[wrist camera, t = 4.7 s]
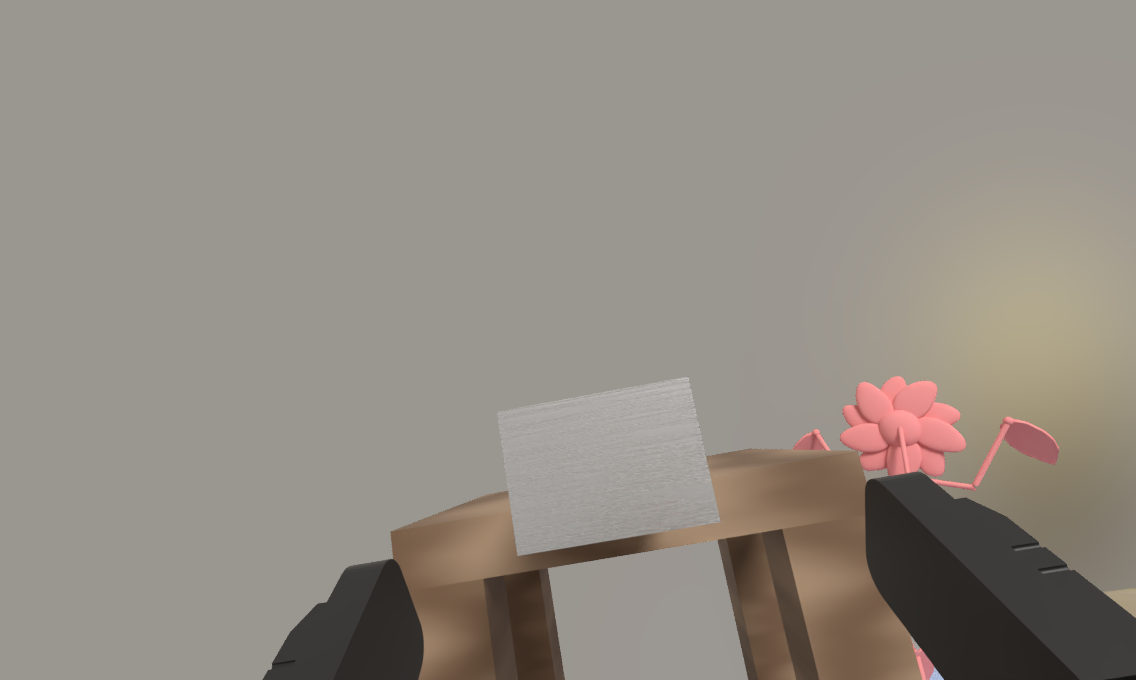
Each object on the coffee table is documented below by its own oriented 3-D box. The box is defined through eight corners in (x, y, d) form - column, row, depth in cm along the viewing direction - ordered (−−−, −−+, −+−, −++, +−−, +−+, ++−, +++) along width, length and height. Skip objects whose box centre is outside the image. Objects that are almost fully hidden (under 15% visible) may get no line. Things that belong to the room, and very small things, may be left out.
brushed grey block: (795, 509, 9) (751, 336, 9) (447, 567, 9) (427, 397, 10) (673, 464, 28) (662, 409, 29) (564, 483, 29) (555, 428, 29)
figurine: (1182, 749, 44) (1029, 345, 52) (844, 719, 56) (764, 398, 64) (1117, 672, 56) (1002, 358, 65) (854, 661, 69) (786, 400, 77)
